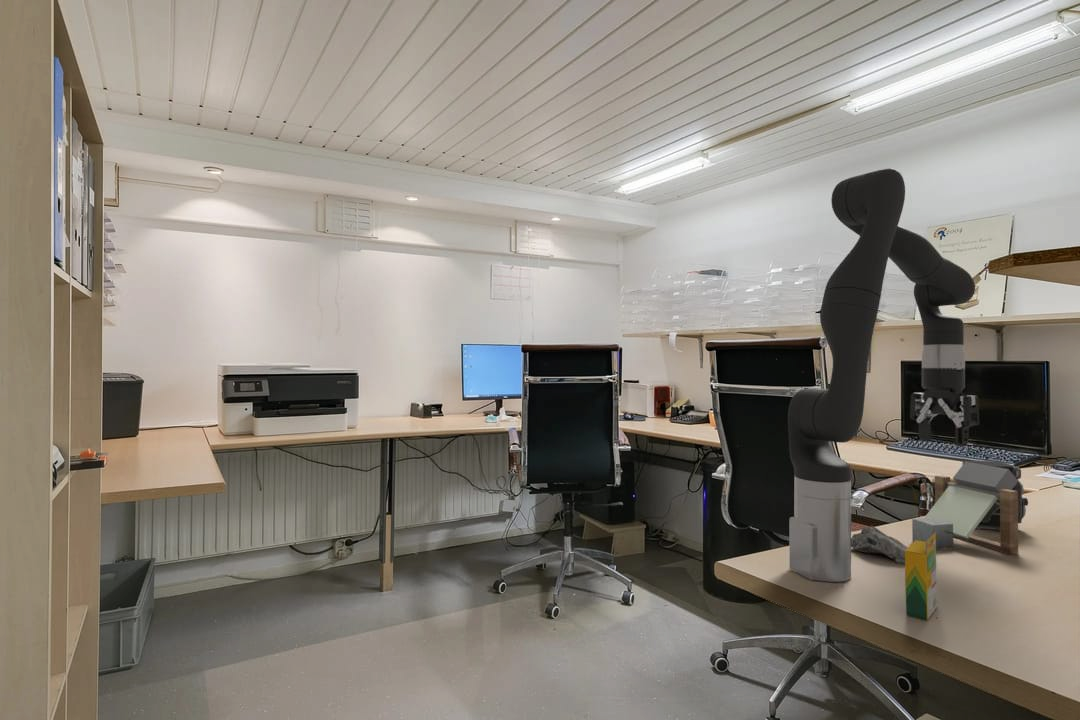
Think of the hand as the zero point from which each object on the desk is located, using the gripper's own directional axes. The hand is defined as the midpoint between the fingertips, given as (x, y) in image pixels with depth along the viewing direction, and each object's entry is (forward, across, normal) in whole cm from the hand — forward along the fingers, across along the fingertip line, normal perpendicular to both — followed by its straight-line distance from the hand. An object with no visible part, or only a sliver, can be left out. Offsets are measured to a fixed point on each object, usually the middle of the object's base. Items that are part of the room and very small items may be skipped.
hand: (942, 443), depth 122 cm
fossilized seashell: (+22, +3, -18) cm, 28 cm away
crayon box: (+22, +27, -33) cm, 48 cm away
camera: (+21, -8, +23) cm, 32 cm away
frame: (+21, 0, +8) cm, 23 cm away
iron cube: (+19, 0, 0) cm, 19 cm away
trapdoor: (+14, 0, +8) cm, 16 cm away
